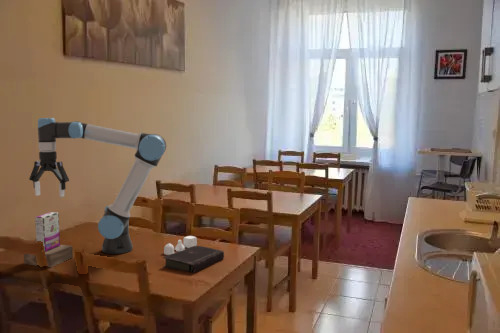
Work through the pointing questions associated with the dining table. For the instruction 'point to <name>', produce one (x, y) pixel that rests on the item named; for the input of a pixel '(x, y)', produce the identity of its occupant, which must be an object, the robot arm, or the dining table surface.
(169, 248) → the container set
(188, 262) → the diary
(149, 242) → the dining table surface
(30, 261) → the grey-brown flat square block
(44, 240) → the candy bar box
